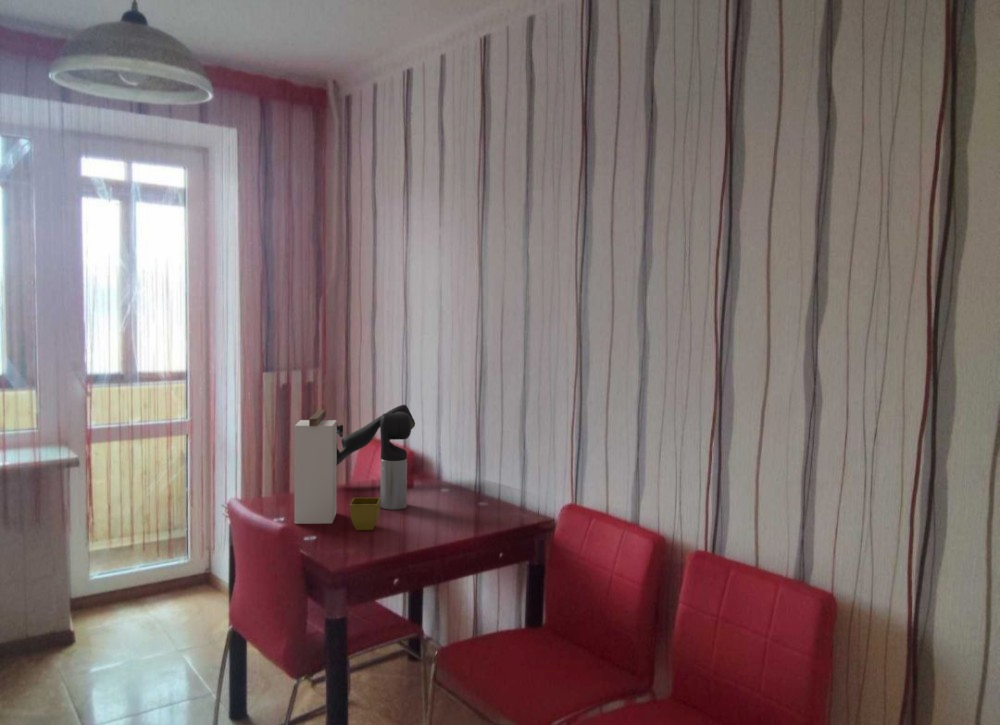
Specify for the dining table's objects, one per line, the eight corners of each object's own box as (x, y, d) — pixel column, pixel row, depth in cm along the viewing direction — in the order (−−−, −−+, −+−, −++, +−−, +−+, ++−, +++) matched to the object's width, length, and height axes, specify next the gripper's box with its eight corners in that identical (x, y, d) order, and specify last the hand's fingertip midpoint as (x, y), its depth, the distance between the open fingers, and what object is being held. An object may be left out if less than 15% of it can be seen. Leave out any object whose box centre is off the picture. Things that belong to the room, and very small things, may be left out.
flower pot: (349, 532, 234) (349, 504, 234) (353, 524, 243) (353, 497, 242) (377, 532, 235) (377, 504, 234) (380, 524, 243) (380, 497, 243)
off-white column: (336, 513, 256) (336, 420, 253) (332, 523, 244) (332, 425, 241) (300, 513, 254) (300, 420, 252) (294, 523, 242) (294, 425, 240)
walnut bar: (325, 416, 262) (325, 409, 261) (316, 426, 240) (316, 418, 240) (318, 416, 261) (318, 409, 261) (309, 426, 240) (309, 418, 239)
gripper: (344, 448, 278) (341, 433, 263) (305, 449, 276) (299, 433, 262) (345, 429, 281) (342, 413, 267) (306, 430, 279) (301, 413, 265)
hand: (321, 423), depth 264 cm, fingers open, 8 cm apart
